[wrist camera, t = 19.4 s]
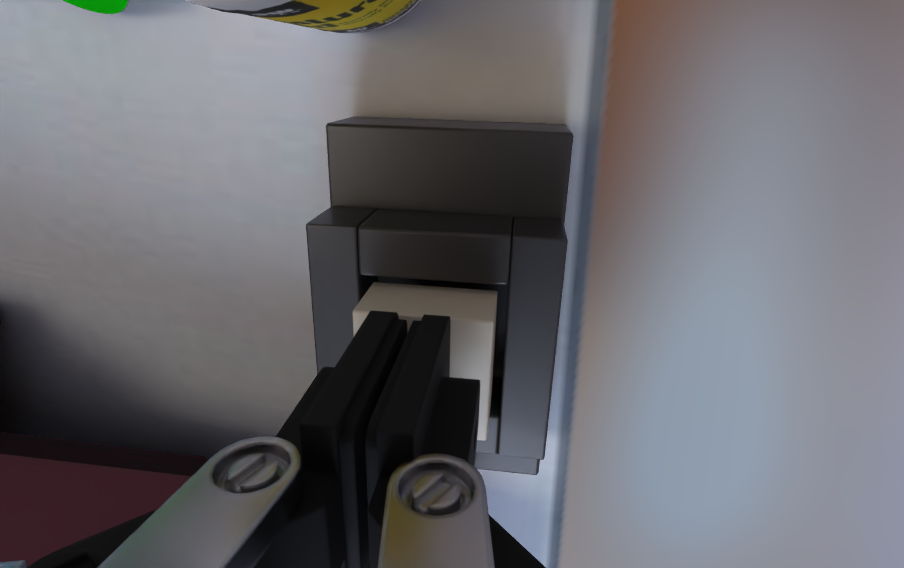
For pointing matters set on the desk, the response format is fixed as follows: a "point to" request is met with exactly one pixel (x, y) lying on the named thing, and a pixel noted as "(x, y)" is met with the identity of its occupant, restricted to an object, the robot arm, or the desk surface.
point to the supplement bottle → (320, 12)
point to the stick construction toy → (100, 5)
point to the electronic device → (78, 490)
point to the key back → (468, 327)
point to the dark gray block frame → (453, 247)
